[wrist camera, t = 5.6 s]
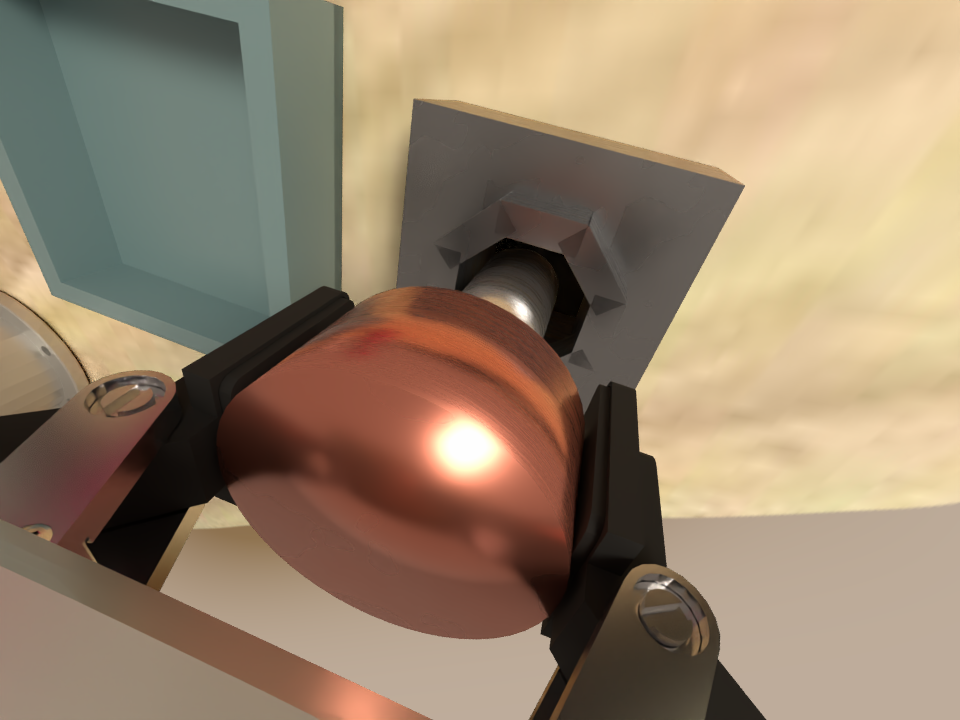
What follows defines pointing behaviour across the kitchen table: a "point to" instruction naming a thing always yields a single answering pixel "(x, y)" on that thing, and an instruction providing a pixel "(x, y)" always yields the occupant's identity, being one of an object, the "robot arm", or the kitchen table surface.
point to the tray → (176, 156)
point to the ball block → (562, 225)
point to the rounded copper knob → (421, 455)
